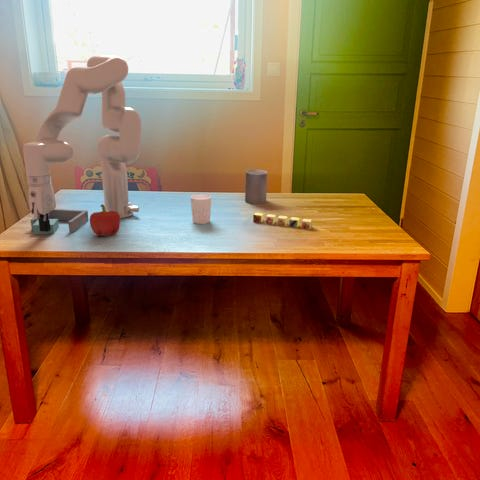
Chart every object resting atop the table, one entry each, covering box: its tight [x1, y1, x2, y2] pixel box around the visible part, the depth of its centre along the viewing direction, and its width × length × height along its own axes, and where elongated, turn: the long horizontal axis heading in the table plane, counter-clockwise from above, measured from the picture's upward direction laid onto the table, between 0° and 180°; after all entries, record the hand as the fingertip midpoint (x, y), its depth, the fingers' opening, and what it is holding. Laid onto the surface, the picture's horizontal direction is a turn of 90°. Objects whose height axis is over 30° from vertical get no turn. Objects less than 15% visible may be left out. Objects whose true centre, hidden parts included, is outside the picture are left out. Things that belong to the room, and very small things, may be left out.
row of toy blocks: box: [252, 212, 313, 230], centre depth 183 cm, size 32×32×3 cm
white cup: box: [190, 193, 212, 225], centre depth 185 cm, size 8×8×10 cm
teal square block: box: [32, 219, 60, 235], centre depth 172 cm, size 7×7×4 cm
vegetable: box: [89, 204, 121, 237], centre depth 169 cm, size 11×10×10 cm
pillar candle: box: [244, 168, 268, 205], centre depth 213 cm, size 10×10×15 cm
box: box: [30, 208, 89, 233], centre depth 178 cm, size 15×14×4 cm
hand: (45, 230), depth 167 cm, fingers closed
